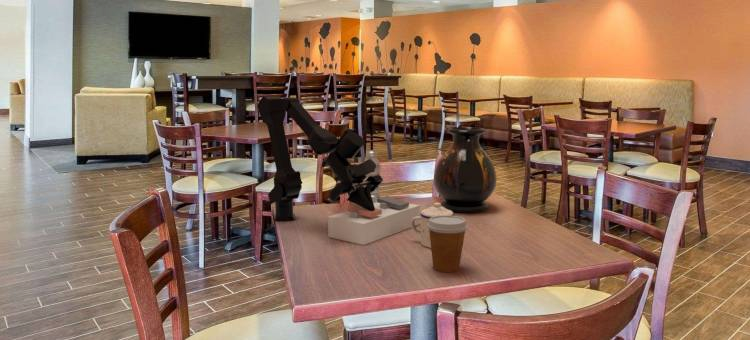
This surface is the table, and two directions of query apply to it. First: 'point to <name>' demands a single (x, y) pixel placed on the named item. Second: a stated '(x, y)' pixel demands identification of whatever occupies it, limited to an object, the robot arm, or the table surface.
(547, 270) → the table surface
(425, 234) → the teacup with lid
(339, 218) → the block
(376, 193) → the plastic bottle
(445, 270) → the disposable coffee cup
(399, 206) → the charcoal rocker
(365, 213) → the red rocker
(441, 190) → the amphora vase
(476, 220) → the table surface
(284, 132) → the robot arm
